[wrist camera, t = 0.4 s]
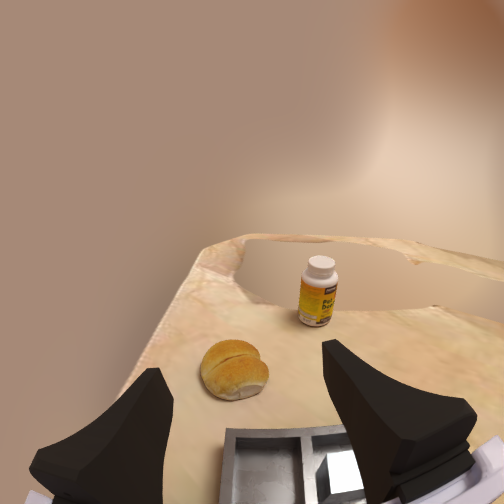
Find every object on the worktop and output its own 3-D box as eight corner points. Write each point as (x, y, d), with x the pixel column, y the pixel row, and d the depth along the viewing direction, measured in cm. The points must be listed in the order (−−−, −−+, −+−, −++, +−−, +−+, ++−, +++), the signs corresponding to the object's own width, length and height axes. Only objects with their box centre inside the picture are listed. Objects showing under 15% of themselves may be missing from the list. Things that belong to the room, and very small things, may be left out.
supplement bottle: (320, 332, 41) (329, 275, 37) (290, 318, 45) (295, 262, 40) (337, 315, 45) (346, 260, 41) (309, 303, 48) (315, 249, 44)
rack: (443, 506, 14) (475, 487, 11) (220, 544, 14) (212, 540, 11) (417, 424, 24) (439, 395, 22) (228, 444, 25) (224, 418, 22)
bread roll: (250, 345, 40) (250, 324, 38) (276, 390, 32) (278, 370, 30) (194, 358, 37) (190, 337, 35) (211, 408, 30) (207, 389, 28)
